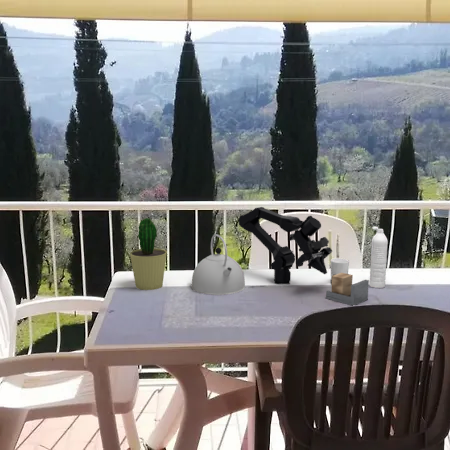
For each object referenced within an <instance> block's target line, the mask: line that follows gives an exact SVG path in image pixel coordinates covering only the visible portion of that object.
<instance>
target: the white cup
mask: <svg viewBox="0 0 450 450" xmlns="http://www.w3.org/2000/svg"><path fill="white" fill-rule="evenodd" d="M349 266H350V260H349V259H347V258H342V257H341V258H339V257H335V258H331V259H330V279H331V278H332V276H333V275H334V274H339V273H346V274H349Z"/></svg>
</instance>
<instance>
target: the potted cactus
mask: <svg viewBox="0 0 450 450" xmlns="http://www.w3.org/2000/svg"><path fill="white" fill-rule="evenodd" d="M153 220H154V219H152V218H151V217H150V218H149V217H145V218H142V220H140V221H139V222H138V223H137V226H138V227H136V229H138V230H137V232H138V233H137V241H138V246H139V248H138V249H135V250H132V251H130V253H129V255H130V261H131V267H132V272H133V277H134V278H133V279H134V284H135V287H136V288H137V289H138V290H141V291H153V290H159V289H161V288H162V287H163V285H164V284H163V283H164V277H165V276H164V275H165V269H166V261H167V253H168V251H167V250H165V249H163V248H155V246H156V244H157V238H158V237H159V234H160V232H159V231H158V228H157V226H156V224H155V223H154V221H153ZM137 241H136V242H137Z"/></svg>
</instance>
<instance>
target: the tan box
mask: <svg viewBox="0 0 450 450" xmlns="http://www.w3.org/2000/svg"><path fill="white" fill-rule="evenodd" d="M330 285H331V290H330V291H332V292H336V293H340V294H343V295H347V296H349V295H351V285H353V274H351V273H350V274H349V273H348V274H346V273H339V274H334V275H333V276H332V278H331V277H330Z"/></svg>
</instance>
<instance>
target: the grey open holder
mask: <svg viewBox="0 0 450 450" xmlns="http://www.w3.org/2000/svg"><path fill="white" fill-rule="evenodd" d="M369 282H370V279H369V280H368V279H363V280H361V281H358V282H355V283H352V285H351V295H349V296H347V295H343V294H340V293H336V292H332V291H331V290H326V291H325V299H327V300H331V301H334V302H338V303H340V304H341V303H342V304H345V305H349V306H352V305H355V306H356V305H359V304H361V303H363V302H366V301H368V299H369V287H370V285H369Z"/></svg>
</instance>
